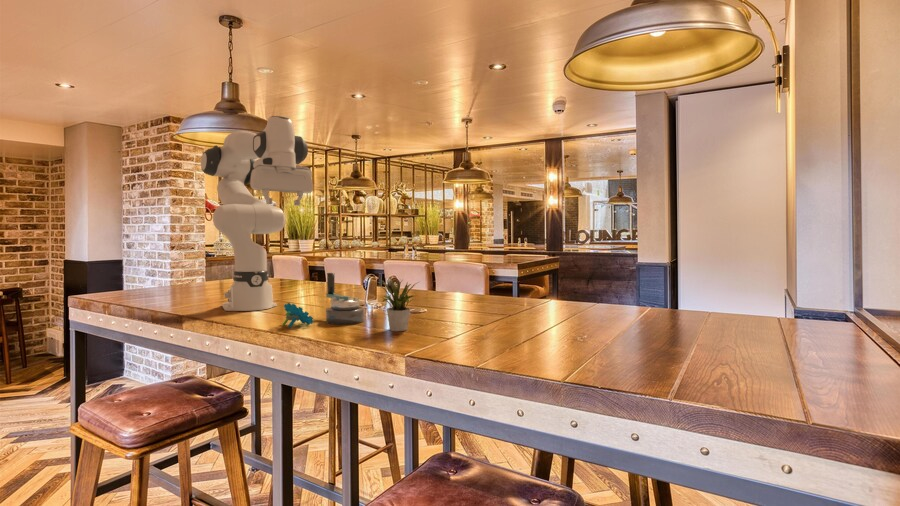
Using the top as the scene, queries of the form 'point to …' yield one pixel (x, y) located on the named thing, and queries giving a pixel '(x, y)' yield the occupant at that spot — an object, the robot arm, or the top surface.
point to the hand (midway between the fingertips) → (283, 204)
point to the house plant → (398, 307)
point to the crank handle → (339, 297)
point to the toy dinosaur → (296, 315)
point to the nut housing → (345, 316)
